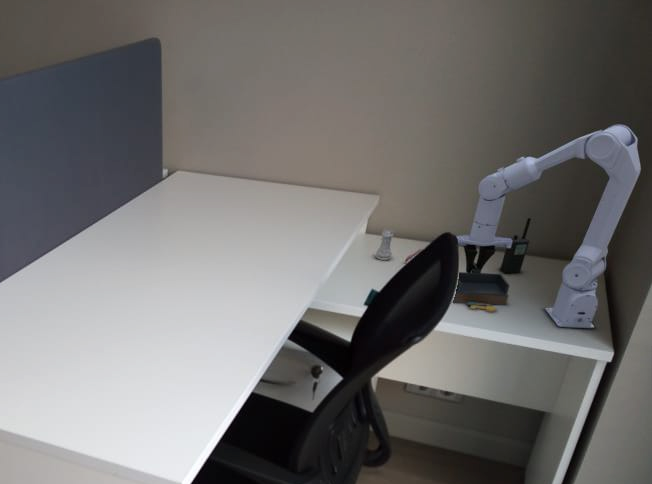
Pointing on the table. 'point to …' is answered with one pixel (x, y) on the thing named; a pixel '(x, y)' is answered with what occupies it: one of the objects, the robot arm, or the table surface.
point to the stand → (480, 298)
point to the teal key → (478, 304)
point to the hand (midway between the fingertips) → (472, 272)
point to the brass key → (487, 308)
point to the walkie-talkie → (515, 253)
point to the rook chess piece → (385, 246)
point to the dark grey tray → (481, 283)
